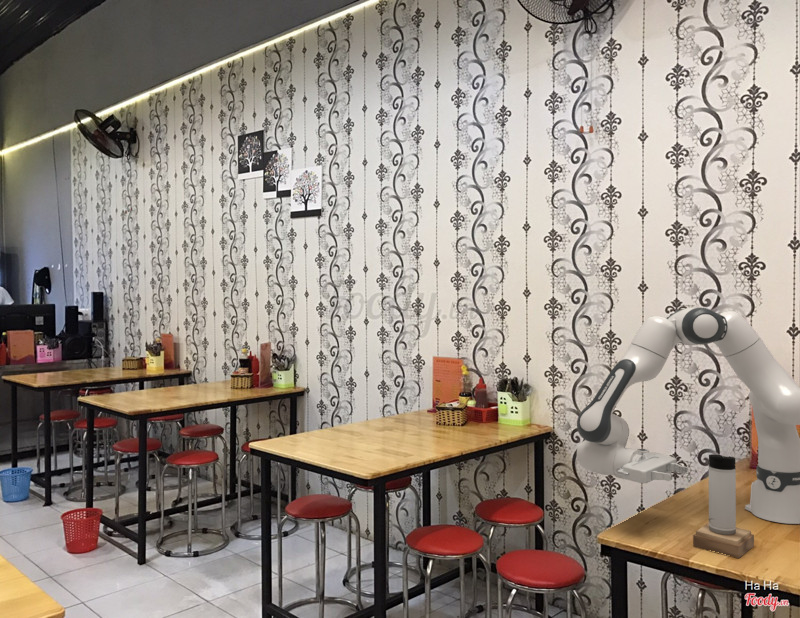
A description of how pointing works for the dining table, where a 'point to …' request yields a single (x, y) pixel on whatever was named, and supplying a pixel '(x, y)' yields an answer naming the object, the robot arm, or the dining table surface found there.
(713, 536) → the plinth
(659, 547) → the dining table surface
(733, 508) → the travel mug
